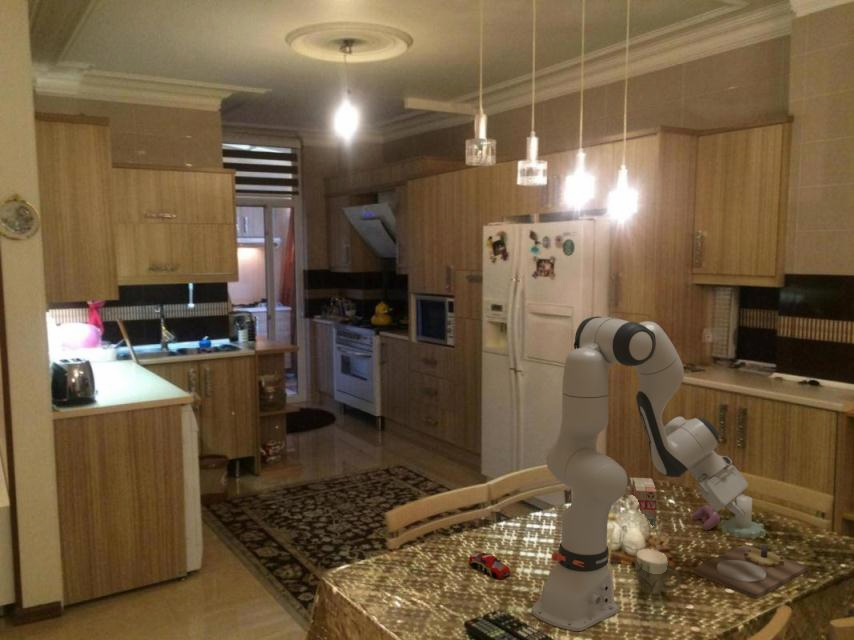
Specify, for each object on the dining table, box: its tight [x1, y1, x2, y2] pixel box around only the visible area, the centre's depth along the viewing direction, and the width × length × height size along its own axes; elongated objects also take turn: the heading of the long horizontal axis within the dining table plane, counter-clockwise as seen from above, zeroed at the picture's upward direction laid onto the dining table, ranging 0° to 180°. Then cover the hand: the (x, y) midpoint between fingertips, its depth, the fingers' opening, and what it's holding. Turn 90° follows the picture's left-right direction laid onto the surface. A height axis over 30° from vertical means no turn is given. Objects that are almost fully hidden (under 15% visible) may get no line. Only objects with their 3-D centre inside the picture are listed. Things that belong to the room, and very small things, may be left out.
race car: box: [468, 552, 511, 580], centre depth 192 cm, size 13×5×4 cm, turn 39°
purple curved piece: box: [691, 504, 721, 531], centre depth 222 cm, size 10×5×7 cm, turn 1°
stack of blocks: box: [629, 477, 658, 527], centre depth 231 cm, size 21×6×12 cm, turn 169°
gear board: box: [691, 544, 809, 600], centre depth 190 cm, size 26×18×5 cm
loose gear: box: [720, 495, 766, 540], centre depth 186 cm, size 11×11×9 cm
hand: (745, 513), depth 185 cm, fingers closed on loose gear, 4 cm apart
